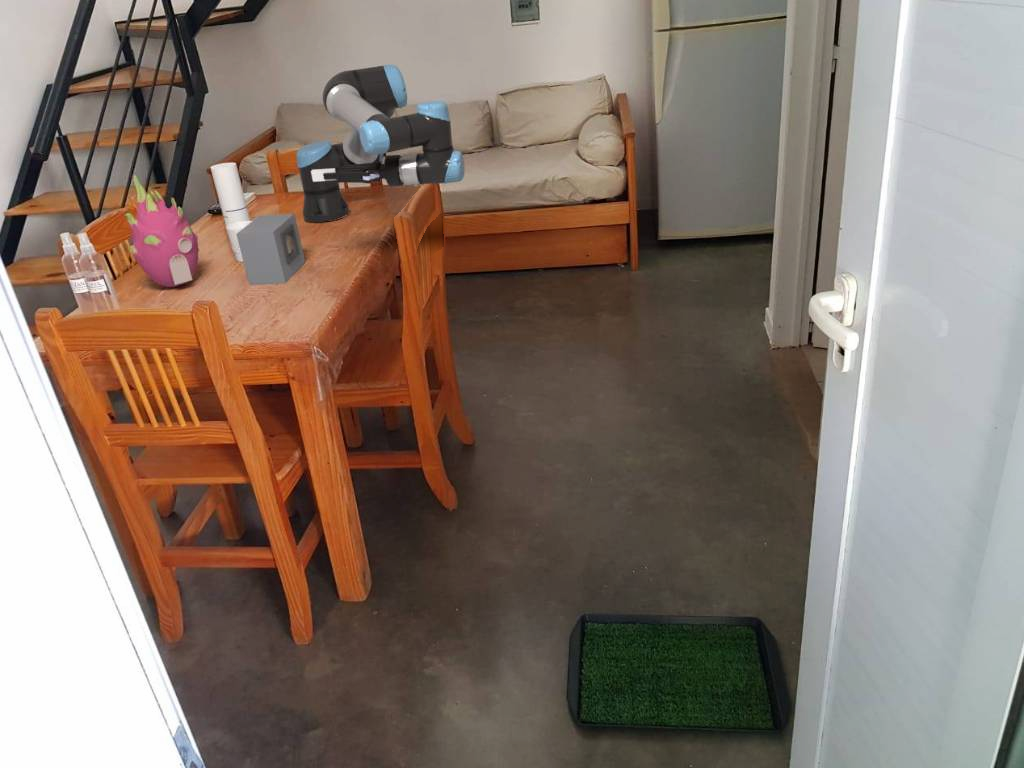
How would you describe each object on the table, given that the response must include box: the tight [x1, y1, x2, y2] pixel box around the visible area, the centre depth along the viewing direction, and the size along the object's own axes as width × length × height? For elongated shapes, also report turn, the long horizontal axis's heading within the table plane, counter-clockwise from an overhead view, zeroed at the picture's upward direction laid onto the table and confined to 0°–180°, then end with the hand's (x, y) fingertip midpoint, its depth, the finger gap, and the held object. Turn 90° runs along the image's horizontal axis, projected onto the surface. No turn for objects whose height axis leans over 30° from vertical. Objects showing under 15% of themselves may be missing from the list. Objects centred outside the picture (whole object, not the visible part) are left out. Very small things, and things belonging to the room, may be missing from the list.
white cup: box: [225, 220, 253, 263], centre depth 226 cm, size 8×8×10 cm
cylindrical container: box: [210, 162, 251, 253], centre depth 230 cm, size 7×7×25 cm
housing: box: [236, 213, 306, 286], centre depth 211 cm, size 11×16×14 cm, turn 174°
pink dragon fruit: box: [124, 175, 200, 288], centre depth 205 cm, size 18×14×30 cm
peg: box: [285, 235, 293, 254], centre depth 210 cm, size 10×5×5 cm, turn 84°
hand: (312, 175), depth 200 cm, fingers closed
